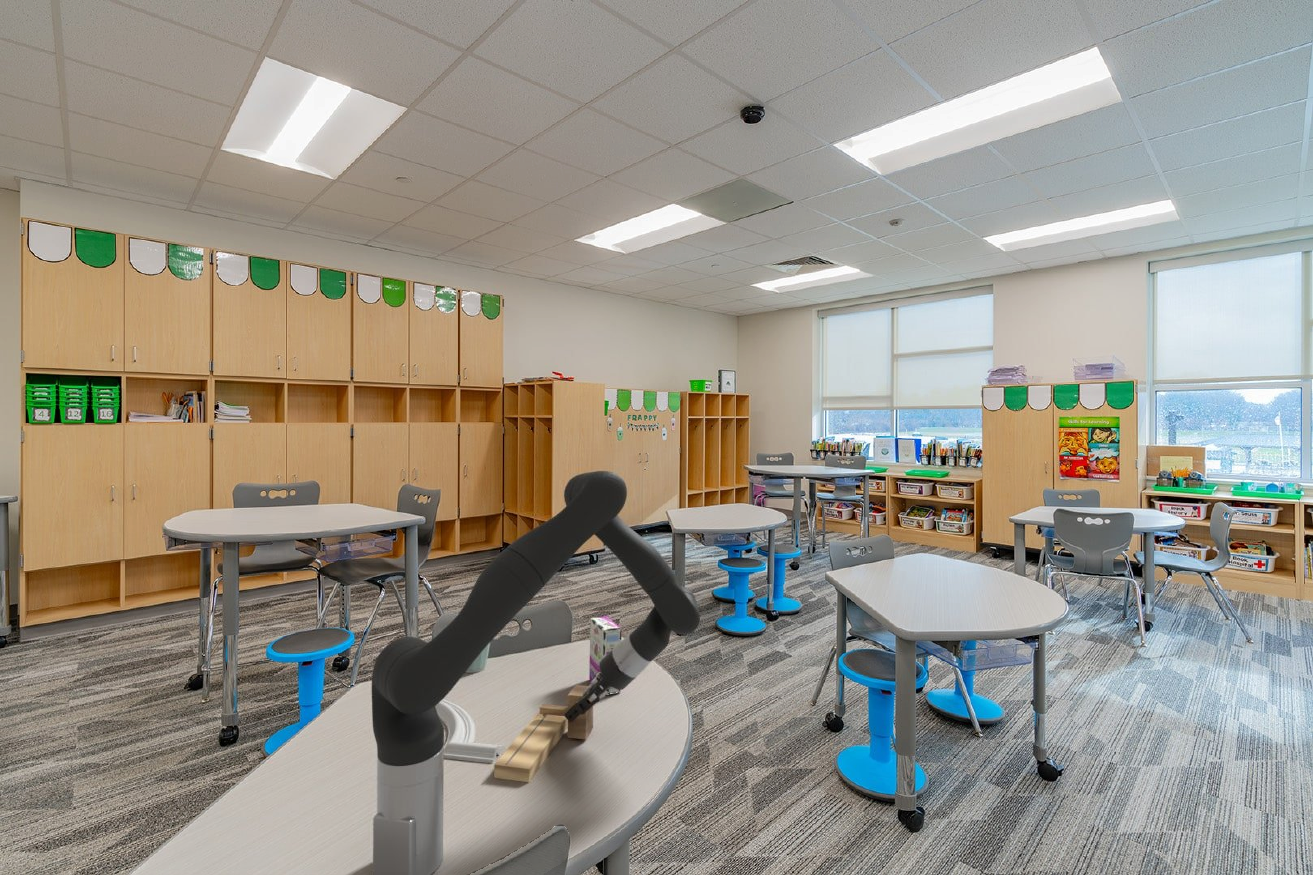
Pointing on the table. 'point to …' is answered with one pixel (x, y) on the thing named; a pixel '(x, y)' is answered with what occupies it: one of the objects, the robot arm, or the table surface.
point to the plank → (530, 748)
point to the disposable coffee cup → (479, 661)
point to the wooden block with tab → (581, 723)
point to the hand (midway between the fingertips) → (572, 712)
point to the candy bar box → (602, 643)
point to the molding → (463, 736)
